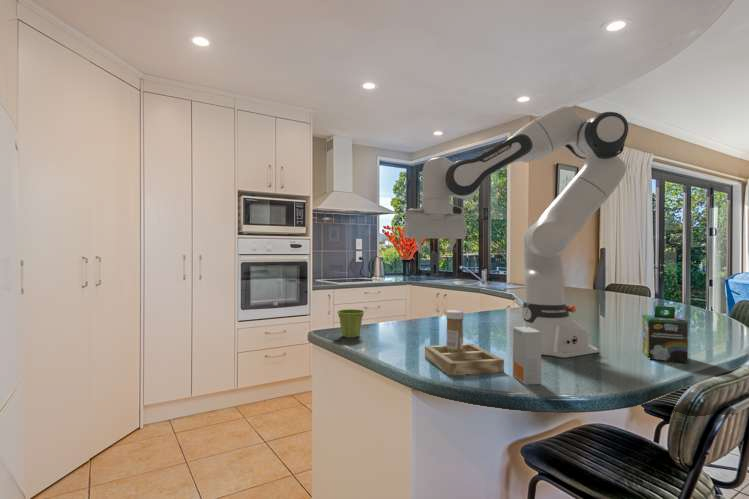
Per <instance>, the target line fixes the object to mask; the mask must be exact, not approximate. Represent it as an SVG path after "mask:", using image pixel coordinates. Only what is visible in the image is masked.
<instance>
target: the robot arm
mask: <svg viewBox="0 0 749 499" xmlns="http://www.w3.org/2000/svg"><path fill="white" fill-rule="evenodd" d="M628 134H629V123H628V121H627V119H626V118H625V116H623V115H622V114H621V113H618V112H615V111H605V112H601V113H600V112H599V113H598V114H596V115H593V116H592V117H591V118H589V119H584V118H582V117H581V116H580V115H579V113H578V112H577V110H575V108H572V107H570V106H561V107H558V108H556V109H553V110H551V111H549V112H546V113H544V114H543V115H540V116H538V117H537V118H534V120H532V121H530V122H529V123H527V124H526V125H524V126H522V127H521V128H520V129H519V130H517V131H516V132H515V133H513V134H512V135H511V136H510V137H508V138H507V139H506V140H505V141H503V142H502V143H500V144H498V145H497V146H494V147H493V148H491V149H489V150H487V151H485V152H484V153H482V154H480V155H478V156H475V157H473V158H472V157H471V158H466V159H460V160H457V161H455V162H454V161H452V160H450V159H449V158H448V157H445V156H437V157H433V158H430V159H428V160H427V161H426V162H425V163H424V165H423V168H422V176H421V188H422V197H421V208H409V209H407V210H406V211H405V212H404V216H403V217H404V222H405V223H404V228H403V229H404V230H403V235H404V237H405V239H414V243H415V244H416V246H417V250H418V253H419V254H425V250H426V249H425V247H423V246H422V243H421V242H422V239H439V240H441V239H449V240H448V241H449V246H448V247H445V253H446V254H452V253H453V252H454V251H453V248H454V246H455V245H456V243H457V240H459V239H460V240H461V239H465V238H466V237H467V235H468V228H467V227H468V225H467V219H466V217H465V216H463V215H465V213H466V211H465V210H466V209H465V208H464V207H462V206H458V205H456V204H453V203H452V202H451V198H458V199H463V200H468V199H470V198H472V197H475V195H476V194H478V192H479V190H480V187H481V184H482V183H483V182H484V180H485V179H486V178H488V177H489V176H491V175H492V174H494V173H496V172H498V171H500V170H502V169H504V168H505V167H507V166H509V165H511V164H515V163H517V162H523V163H532V162H535V161H538V160H540V159H543V158H544V157H547V156H548V155H550V154H552V153H554V152H555V151H556V150H558V149H560V148H562V147H565V148H567V149H568V150H569V151H570V152H571V153H572V154H573V155H574V156H575V157H577V158H579V159H581V160H582V159H583V160H584V164H583V166H582V167H581V169H580V170H579V172H578V173H576V175H575V176H574V177H572V179H571V180H570V181H569V182H568V183H567V185H566V186H565V187H564V188H563V189H562V191H560V193H559V194H558V195H557V196H556V197H555V198H554V200H553V201H552V202H551V203H550V205H549V206H548V207H547V208H546V210H545V211H544V212H543V213H542V214H541V216H539V218H538V219H537V220H536V221H535V222H534V224H532V225H530V226H529V227H527V229H526V230H525V233H523V234H524V235H523V264H524V266H523V267H524V269H523V270H524V301H523V302H522V318H523V325H522V327H530V328H533V329H536V330H537V331H540V332H541V356H542V355H543V356H552V357H553V356H554V357H558V358H562V359H563V358H564V359H565V358H572V357H579V356H584V355H590V354H597V353H599V350H598V348H597V347H596V346H594V345H592V344H590V339H589V334H588V332H587V330H586V329H585V328H584V327H583V326H582V325H580V324H579V323H578V322H576V321H575V320H574V319H573V318H571V317H570V313H574V314H575V313H576V311H578V310H577V307H576V305H571V304H569V305H566V303H565V275H564V267H563V256H562V253H563V252H564V251H565V250H566V249H567V248H568V247H569V245H570V244H571V243H572V242H573V240H574V239H575V238H576V237H577V235H579V233H580V232H581V230H582V228H584V226H585V225H586V223H587V222H588V221H589V220H590V218H592V217H593V215H594V214H595V213H596V212H597V211H598V210H599V209H600V207H601V206H603V204H605V202H607V201H606V200H608V199H609V197H611V195H612V194H613V193H614V191H615V190H616V188H618V186H619V184H620V183H621V181H622V179H623V178H624V176H625V174H626V172H627V166H626V163H625V162H624V161H623V159H622V158H620V156H619V155H620V154H622V153H623V151H624V148H625V142H626V139H627V138H628ZM569 312H570V313H569Z"/></svg>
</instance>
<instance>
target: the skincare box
mask: <svg viewBox="0 0 749 499" xmlns="http://www.w3.org/2000/svg"><path fill="white" fill-rule="evenodd" d="M512 328H513V332H512V338H513V339H512V376H513V377H514V378H516V379H517V380H518V381H519V382H520V383H521V384H523V385H525V386H526V385H527V386H528V385H541V384H542V354H541V332H540V331H537V330H536V329H533V328H530V327H523V326H512Z"/></svg>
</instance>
